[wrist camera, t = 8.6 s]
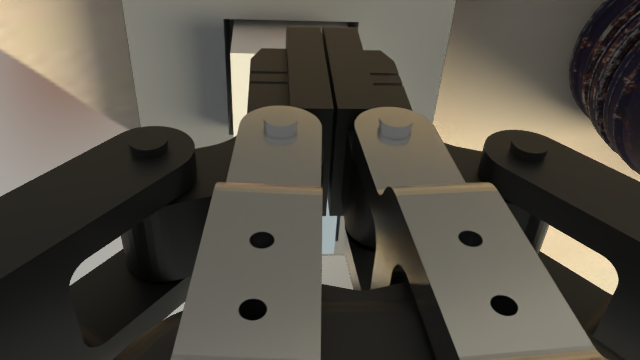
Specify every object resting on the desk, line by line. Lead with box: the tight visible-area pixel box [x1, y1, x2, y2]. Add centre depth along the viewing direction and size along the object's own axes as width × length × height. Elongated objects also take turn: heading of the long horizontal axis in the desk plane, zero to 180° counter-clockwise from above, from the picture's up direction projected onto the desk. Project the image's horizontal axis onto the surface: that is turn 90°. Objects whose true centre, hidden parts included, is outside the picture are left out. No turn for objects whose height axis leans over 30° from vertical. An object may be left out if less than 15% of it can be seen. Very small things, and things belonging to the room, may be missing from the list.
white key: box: [230, 19, 348, 137], centre depth 27 cm, size 5×5×4 cm
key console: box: [122, 0, 456, 256], centre depth 29 cm, size 14×22×4 cm, turn 177°
